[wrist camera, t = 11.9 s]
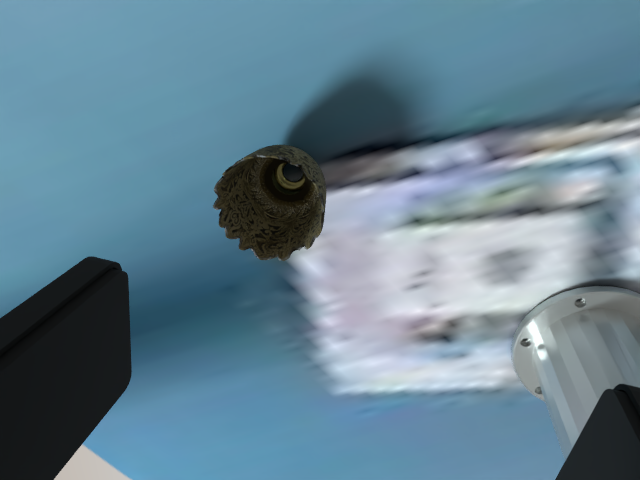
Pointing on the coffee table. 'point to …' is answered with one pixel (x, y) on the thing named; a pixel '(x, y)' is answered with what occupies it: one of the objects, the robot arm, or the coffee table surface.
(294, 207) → the cup
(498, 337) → the coffee table surface
